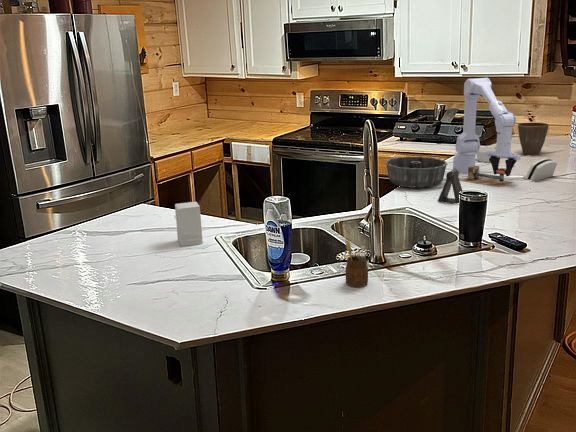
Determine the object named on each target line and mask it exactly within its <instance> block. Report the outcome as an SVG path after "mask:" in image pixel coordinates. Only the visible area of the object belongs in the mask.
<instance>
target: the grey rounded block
mask: <svg viewBox="0 0 576 432" xmlns="http://www.w3.org/2000/svg"><path fill="white" fill-rule="evenodd" d="M557 166H558V163H557V162H556V161H555V160H553V159H550V158H541V159H538V160H536V161H534V162H533V163H532V164H531V165H530V166H529V167H530V168H529V170H528V171H527V172H526V174H525V175H523V177H522V179H526V180H530V181H529V182H536V181H539V180H544V179H547V178H551V177H553V176H554V173H555V171H556V168H557Z"/></svg>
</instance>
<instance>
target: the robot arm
mask: <svg viewBox="0 0 576 432" xmlns="http://www.w3.org/2000/svg"><path fill="white" fill-rule="evenodd" d="M463 96H464V107H463V109H464V111H463V129H462V130H463V131H462V133H461V134H460V135H459V136H457V137H456V143H455V146H454V147H455V152H456V153H455V154H454V156H453V160H452V170H454V171H455V170H458V172H459V173H462V174H468V167H471V166H476V157H477V152H478V151H479V150H480V149H481V143H480V136H479V135H477V134H476V122H477V121H476V120H477V105H478V104H477V102H478V99H479V98H480V97H481V96H482V97H483V98H484V100H485V101H486V102H487V104H488V105H489V106H488V110H489V111H490V113H491V115H492V116H493V118H494V119H495V120H494V126H495V131H496V132H497V133H496V145H495V146H496V147H495V148H496V152H492V151H488V152H486V156H491V157H490V158H489V161H490V162H491V163H490V165H491V166H492V171H493V175H498V174H497V173H496V169H499V165H500V159H505V169H506V174H505V176H506V177H509V176H511V173H512V170H513V168H514V166H515V164H516V162H517V161H520V160H521V154H517V153H516V154H515V153H512V152H511V151H512V150H511V149H512V135H513V128H514V127H515V126H516V121H517V119H516V116H515V114H514V113H512V112H511V111H509V110H508V109H507V108H506V106H505V105H504V103H503V102H502V101H501V100H498V99H497V97H496V95H495V93H494V90H492V81H491V80H490V78H489V77H480V78H477V77H476V78H467V79H466V80H465V82H464V84H463Z"/></svg>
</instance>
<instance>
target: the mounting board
mask: <svg viewBox="0 0 576 432" xmlns="http://www.w3.org/2000/svg"><path fill="white" fill-rule="evenodd" d="M479 178H481V179H479V180H476V181H469V180H465V179H468V176H467V177H463V178H461V179H460V178H459V181H460V182H466V183H470V184H478V185H482V186H489V187H496V188H502V187H504V186H507V185H508V186H509V185H511V184H513V183H515V181H511V180H510V181H509V180H504V181H503V182H500V181H499V179H493V178H486V177H480V176H479Z"/></svg>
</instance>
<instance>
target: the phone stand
mask: <svg viewBox="0 0 576 432" xmlns="http://www.w3.org/2000/svg"><path fill="white" fill-rule="evenodd" d="M459 175H460V172H458V170H455V171H454V170H453V169H452V170H450V171H448V172H447V173H446V175H445V182H444V185H443V186H442V189H441V191H440V194H439V197H438V199H437V202H438V201H439V202H438V203H445V202H447V204H453V203H459V192H460V191H463V187H462V184H461V181H459V180H460V178H459ZM451 187H452V191H453V196H454V198H453V197H449V194H450V190H451Z"/></svg>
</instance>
